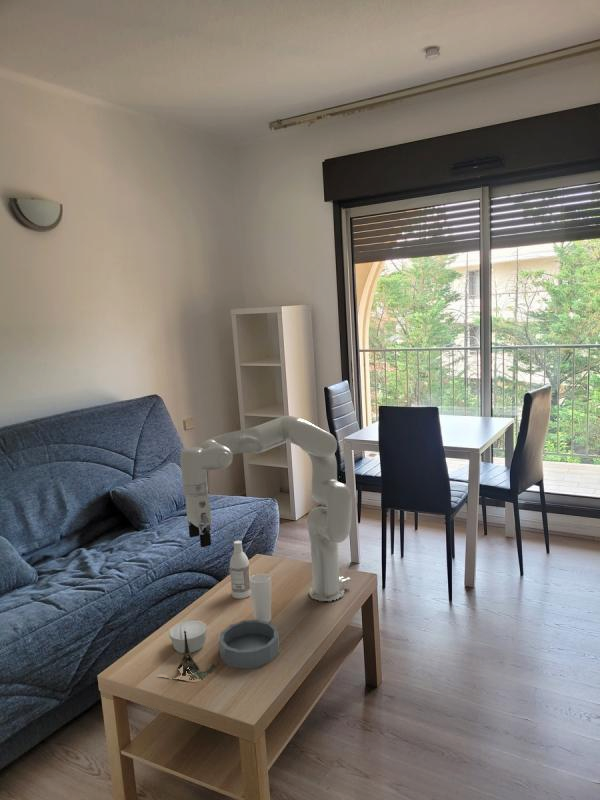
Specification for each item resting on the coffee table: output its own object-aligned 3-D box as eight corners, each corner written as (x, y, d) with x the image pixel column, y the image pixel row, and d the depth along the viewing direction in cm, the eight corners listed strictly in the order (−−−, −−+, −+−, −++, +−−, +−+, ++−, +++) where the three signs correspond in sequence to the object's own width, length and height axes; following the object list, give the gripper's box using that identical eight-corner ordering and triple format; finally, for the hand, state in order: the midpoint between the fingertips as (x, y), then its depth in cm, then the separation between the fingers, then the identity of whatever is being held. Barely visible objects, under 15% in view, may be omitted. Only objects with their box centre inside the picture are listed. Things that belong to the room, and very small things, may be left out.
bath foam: (252, 597, 207) (248, 544, 204) (233, 600, 205) (228, 547, 202) (250, 588, 213) (246, 537, 210) (231, 591, 212) (227, 539, 209)
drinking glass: (270, 626, 186) (267, 583, 184) (250, 625, 188) (247, 582, 186) (275, 616, 193) (272, 573, 191) (256, 615, 194) (252, 572, 192)
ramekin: (163, 647, 179) (162, 631, 178) (193, 631, 187) (191, 616, 186) (185, 660, 171) (184, 643, 170) (215, 643, 179) (213, 627, 178)
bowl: (262, 628, 186) (261, 614, 185) (289, 654, 171) (288, 638, 170) (212, 647, 177) (210, 631, 176) (235, 675, 162) (234, 659, 161)
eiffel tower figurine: (155, 679, 164) (150, 635, 162) (173, 658, 173) (168, 616, 171) (203, 686, 159) (198, 641, 157) (218, 664, 169) (214, 621, 167)
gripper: (217, 492, 171) (222, 547, 174) (197, 479, 186) (201, 530, 189) (193, 497, 168) (198, 553, 170) (174, 484, 182) (179, 535, 185)
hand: (200, 541), depth 179 cm, fingers open, 9 cm apart
